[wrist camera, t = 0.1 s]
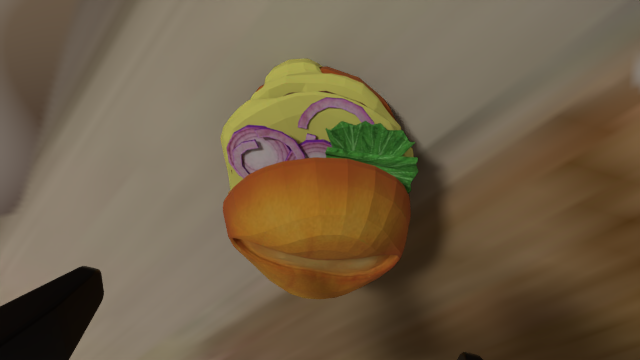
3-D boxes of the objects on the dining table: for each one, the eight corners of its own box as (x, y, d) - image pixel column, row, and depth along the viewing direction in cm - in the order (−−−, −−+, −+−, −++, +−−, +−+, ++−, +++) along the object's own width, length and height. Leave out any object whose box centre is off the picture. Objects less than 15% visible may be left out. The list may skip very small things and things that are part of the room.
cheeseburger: (389, 21, 19) (419, 143, 12) (419, 175, 26) (450, 314, 19) (207, 74, 22) (140, 204, 14) (278, 203, 29) (257, 337, 21)
